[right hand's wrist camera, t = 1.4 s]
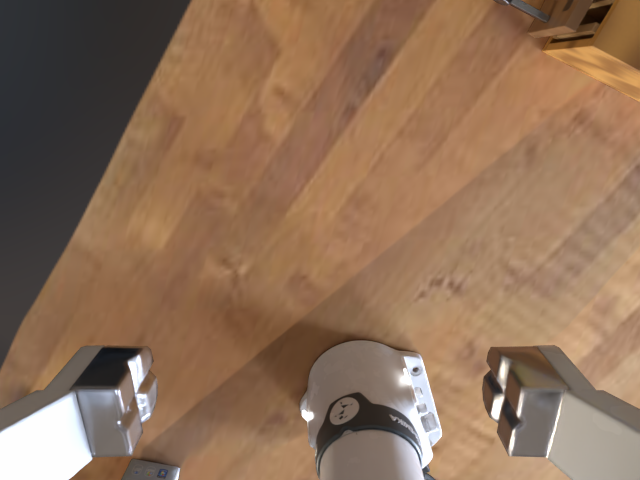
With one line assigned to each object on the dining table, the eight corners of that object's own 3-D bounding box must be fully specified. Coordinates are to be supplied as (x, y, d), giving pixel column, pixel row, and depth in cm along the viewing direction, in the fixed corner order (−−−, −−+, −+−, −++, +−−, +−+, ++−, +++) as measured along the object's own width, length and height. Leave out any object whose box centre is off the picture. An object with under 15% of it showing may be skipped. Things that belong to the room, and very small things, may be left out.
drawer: (477, 8, 43) (507, -5, 37) (505, -46, 42) (541, -70, 35) (675, 111, 47) (736, 118, 40) (708, 65, 45) (777, 64, 38)
